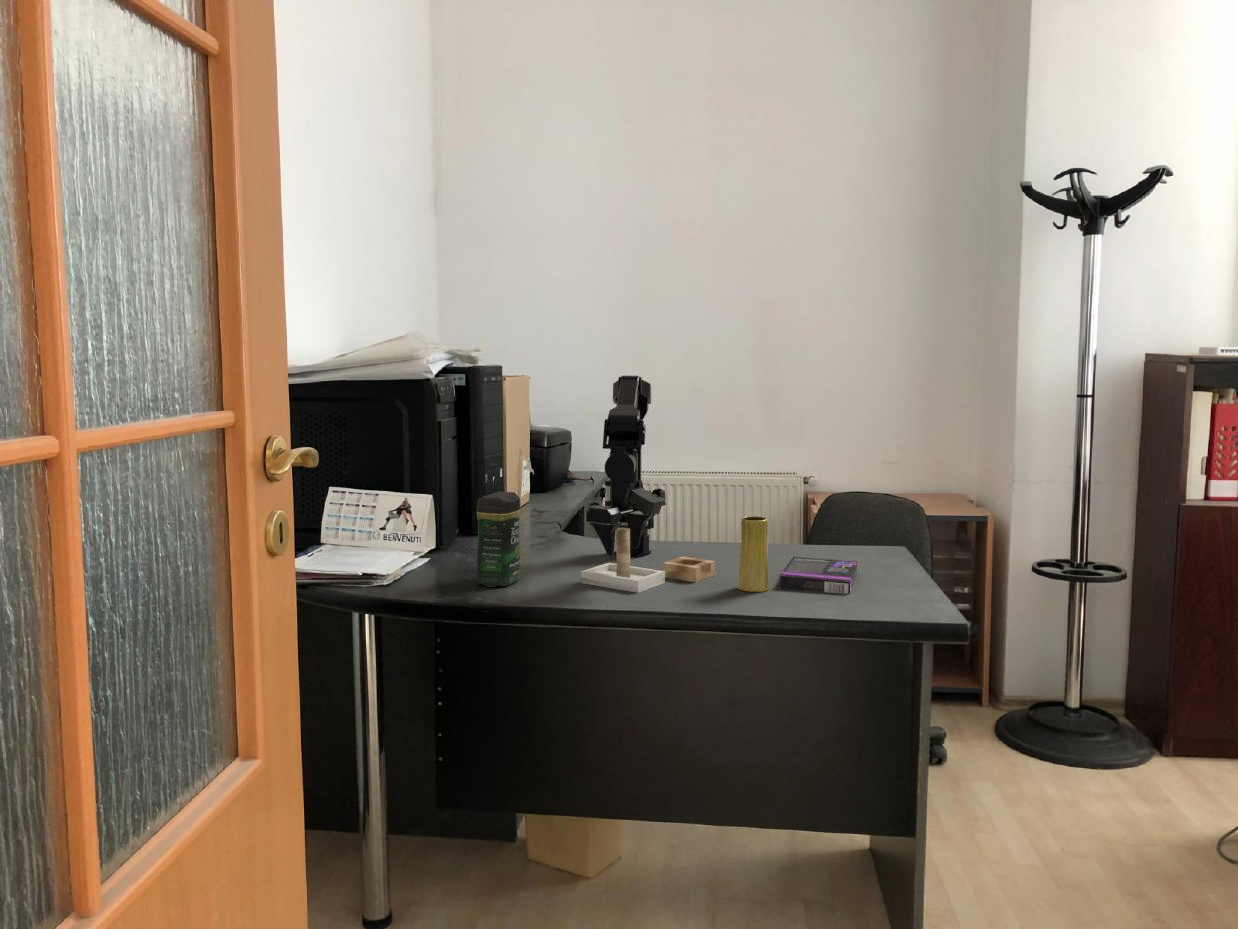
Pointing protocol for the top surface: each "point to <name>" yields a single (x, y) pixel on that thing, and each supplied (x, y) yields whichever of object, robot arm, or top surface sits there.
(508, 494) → the coffee jar
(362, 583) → the top surface
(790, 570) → the box
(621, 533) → the dowel
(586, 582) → the tray
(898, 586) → the top surface
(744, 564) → the vase
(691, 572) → the holder
